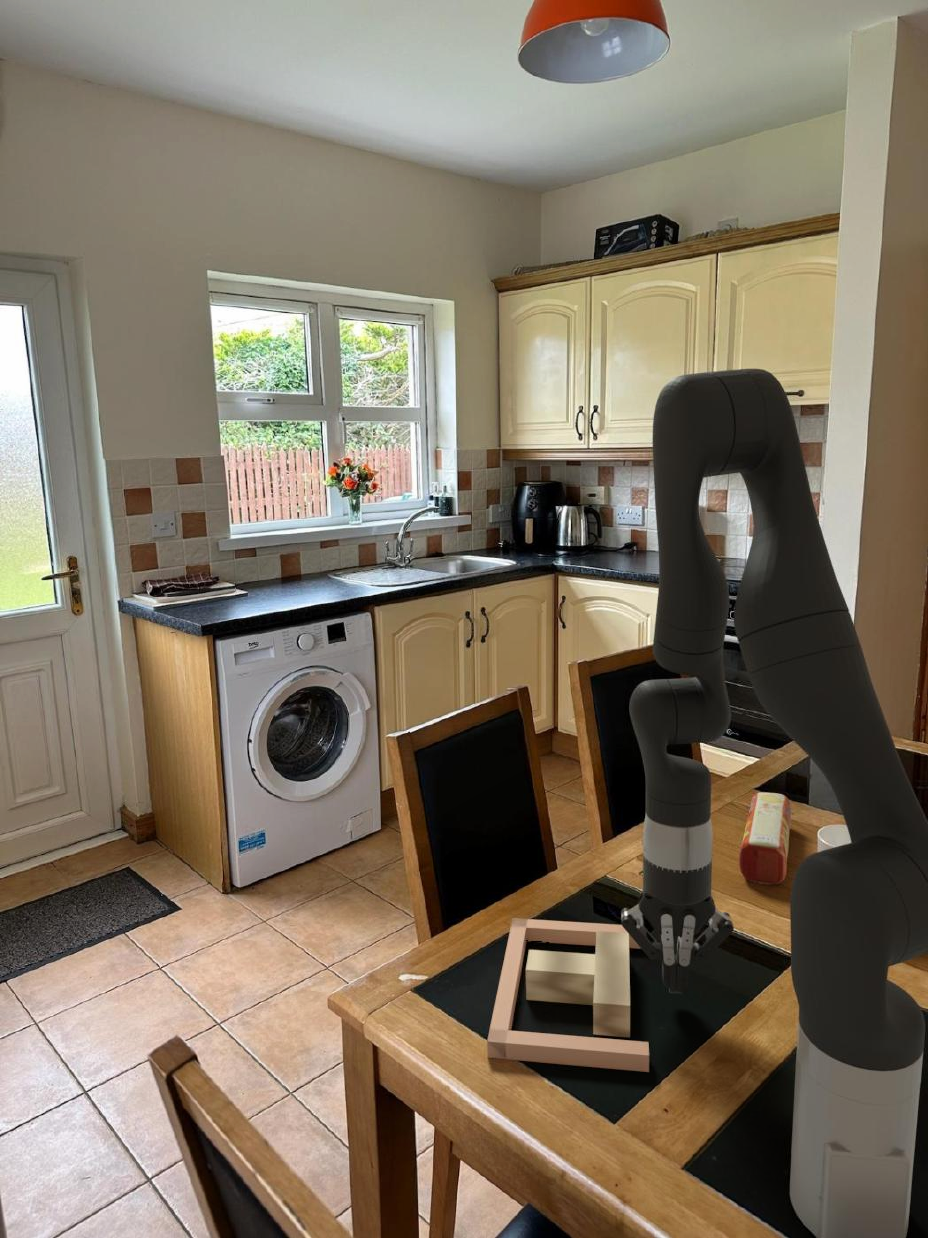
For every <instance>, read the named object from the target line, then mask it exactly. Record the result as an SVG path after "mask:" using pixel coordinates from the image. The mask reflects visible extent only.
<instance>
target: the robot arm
mask: <svg viewBox="0 0 928 1238" xmlns="http://www.w3.org/2000/svg"><path fill="white" fill-rule="evenodd" d="M652 465H653V482H654V484H653V486H654V505H655V518H656V535H657V546H658V547H657V548H658V589H657V590H658V592H657V593H658V594H657V601H656V602H657V603H656V612H655V622H654V632H653V642H652V644H653V645H652V648H653V649H652V653H653V657H654V659H655V661H656V663H658V666H661V668H663V669H665V670H666V671H668V672H671V673H674V674H678V675H683V676H689V677H685V678H684V677H682V678H669V679H668V678H664V679H663V678H662V679H649V680H644V681H642V682H641V683H639V684H638V685H636V688H634V690H633V692H632V693H631V696H630V699H629V706H628V709H629V717H630V720H631V724H632V728H633V731H634V734H635V737H636V739H637V740H636V741H637V743H638V746H639V750H640V753H641V754H640V755H641V759H642V764H643V769H644V776H645V818H644V823H643V832H642V836H643V837H642V839H641V841H642V843H641V845H642V871H643V873H642V891H641V894H640V895H639V897H638V899H637V902H638V903H637V904H636V905H634V906H633V907H632V908H628V907H624V908H622V909H621V911H620V916H621V917H620V918H621V919H620V920H621V925H622V926H623V928H624V929H625V930H626V931H627V932H628V933H629V935H630V936H631V937H632V938H633V939H634V941H635V942H636V943H637V944H638V945H639V946H640V948H641V950H642V952H643V953H644V954H645V955H646V957H648V958H649V959H650V960H653V961H654V960H658V961H660V962H662V963H661V965H662V966H661V968H662V969H661V977H662V985H663V987H664V988H666V989H667V988H668V992H669V993H670V994H683V989H685V990H686V989H688V986H689V971H690V969H689V966H690V964H691V963H693V962H695V961H696V962H697V963H704V962H705V961H706V960H707V959H708V958H709V957H710V956H711V954H713V953H714V951H716V950H717V949H718V948H719V946H721V944H723V943H724V941H725V940H727V938H728V937H729V936H730V935H731V934H732V933H733V932H734V929H735V928H734V923H733V920H732V917H731V915H730V914H729V913H728V912H722V911H720V910H719V909H718V908H716V904H715V900H714V898H713V896H712V883H713V882H712V881H713V880H712V878H713V877H712V873H713V827H712V821H711V820H712V816H711V814H712V813H711V811H712V802H711V801H712V775H711V772H710V769H709V768H708V766H707V765H706V764H704V763H703V762H701V761H699V760H697V759H694V758H693V759H692V758H690V757H689V758H688V757H685V756H677V755H674V754H669V753H668V752H667V746H669V745H684V744H700V743H701V744H703V743H704V744H705V743H712V742H716V741H718V740H719V739H720V738H722V737H723V735H725V733H726V732H727V730H728V729H729V727H730V724H731V720H732V719H731V718H732V710H731V704H730V699H729V698H730V697H729V694H728V689H727V684H726V679H725V671H724V670H725V669H724V644H725V638H726V631H727V625H728V617H729V609H730V591H729V585H728V580H727V577H726V574H725V572H724V570H723V567H722V565H721V562H720V561H719V559H718V557H717V555H716V554H715V552H714V550H713V548H712V546H711V544H710V542H709V540H708V538H707V536H706V533H705V531H704V528H703V525H702V522H701V517H700V509H699V508H700V497H701V488H702V485H703V484H702V483H703V480H704V478H708V477H709V478H710V477H717V476H724V475H725V476H726V475H733V474H740V475H741V477H742V479H743V482H744V483H745V487H746V490H747V491H746V492H747V493H748V498H749V502H750V506H751V507H750V508H751V514H752V522H753V530H752V532H753V533H752V539H751V544H750V549H749V552H748V557H747V559H746V563H745V566H744V569H743V572H742V575H741V579H740V583H739V587H738V591H737V593H736V599H735V603H734V613H733V626H734V632H735V635H736V639H737V642H738V646H739V649H740V653H741V655H742V659H743V662H744V665H745V668H746V673H747V675H748V678H749V682H750V684H751V687H752V690H753V692H754V694H755V696H756V698H757V700H758V701H759V703H760V705H762V707H763V709H764V710H765V711H766V712H767V714H768V715H769V716H770V717H771V719H772V720H773V721H775V723H776V724H777V725H778V726H779V727H780V729H782V730H783V731H784V733H786V734H787V736H788V737H789V738H790V739H791V740H792V741H793V742H794V743H795V744H796V745H797V746H798V747H799V748H800V749H801V750H802V751H803V752H805V754H806V755H807V756H808V757H809V758H810V760H812V762H813V763H814V764H815V765H816V766H817V768H818V769H819V770H820V771H821V773H822V774H823V775H824V777H825V779H826V780H827V782H828V783H829V785H830V787H831V789H832V792H833V793H834V795H835V798H836V800H837V803H838V805H839V807H840V811H841V813H842V816H843V819H844V821H845V825H847V828H848V832H849V835H850V839H851V843H849V844H845V845H842V846H838V847H834V848H831V849H827V850H823V851H820V852H818V851H817V852H815V853H812V854H810V855H807V857H805V858H804V859H803V860H802V861H801V862H800V863H799V865H798V867H797V869H796V870H795V873H794V876H793V879H792V885H791V890H790V902H789V903H790V904H789V905H790V907H789V909H790V911H789V912H790V914H789V915H790V918H789V919H790V920H789V921H790V922H789V923H790V973H791V981H792V985H793V989H794V990H793V991H794V992H795V997H796V1000H797V1003H798V1021H797V1041H796V1054H795V1055H796V1057H795V1058H796V1059H795V1073H794V1074H795V1077H794V1095H793V1097H794V1098H793V1112H792V1113H793V1114H792V1115H793V1116H792V1130H791V1131H792V1135H791V1149H790V1150H791V1152H790V1153H791V1154H790V1155H791V1157H790V1158H791V1159H790V1179H789V1180H790V1181H789V1196H790V1197H789V1198H790V1202H791V1205H792V1207H793V1209H794V1212H795V1214H796V1216H797V1217H798V1219H799V1220H800V1221H801V1223H802V1224H803V1225H804V1226H805V1228H807V1229H808V1230H809V1231H810V1233H812V1235H814V1236H815V1238H906V1237H907V1234H908V1228H909V1220H910V1219H909V1218H910V1217H909V1216H910V1207H911V1197H912V1195H911V1194H912V1182H913V1170H914V1160H915V1159H914V1158H915V1148H916V1138H917V1137H916V1136H917V1126H918V1125H917V1124H918V1115H919V1114H918V1113H919V1112H918V1111H919V1102H920V1101H919V1100H920V1091H921V1090H920V1089H921V1082H922V1071H923V1069H922V1068H923V1061H924V1060H923V1057H924V1048H925V1038H926V1037H925V1036H926V1020H925V1016H924V1013H923V1010H922V1009H921V1007H920V1005H919V1004H918V1002H917V1000H916V999H914V998H915V997H913V996H912V995H911V994H910V993H909V992H907V991H906V990H905V989H904V988H902V987H901V986H899V985H897V984H896V983H894V982H892V981H891V980H889V979H888V974H889V968H890V967H892V966H895V965H898V964H900V963H903V962H906V961H909V960H913V959H915V958H917V957H921V956H923V955H927V954H928V819H927V817H926V815H925V813H924V811H923V808H922V806H921V804H920V802H919V799H918V798H917V795H916V793H915V791H914V789H913V786H912V784H911V781H910V780H909V778H908V775H907V773H906V770H905V768H904V765H903V764H902V761H901V760H902V759H901V758H900V756H899V753H898V750H897V747H896V746H895V743H894V740H893V737H892V733H891V731H890V728H889V726H888V723H887V720H886V718H885V715H884V713H883V709H882V707H881V704H880V701H879V699H878V696H877V693H876V690H875V688H874V685H873V681H872V678H871V675H870V673H869V672H870V671H869V668H868V666H867V662H866V658H865V655H864V651H863V647H862V645H861V642H860V638H859V636H858V633H857V630H856V627H855V624H854V621H853V619H852V615H851V612H850V610H849V607H848V604H847V602H846V600H845V599H846V598H845V597H844V594H843V591H842V588H841V587H840V583H839V581H838V579H837V575H836V572H835V569H834V566H833V563H832V560H831V559H832V558H831V556H830V553H829V549H828V547H827V544H826V540H825V537H824V535H823V531H822V530H823V529H822V527H821V524H820V521H819V517H818V514H817V511H816V507H815V504H814V500H813V495H812V491H811V487H810V481H809V476H808V473H807V468H806V463H805V459H804V455H803V450H802V446H801V442H800V437H799V432H798V429H797V424H796V420H795V415H794V412H793V409H792V406H791V403H790V400H789V398H788V395H787V393H786V391H785V390H784V387H783V385H782V384H781V382H780V381H779V380H778V379H777V377H776V376H775V375H773V373H771V372H770V371H768V370H765V369H762V368H740V369H726V370H725V369H724V370H717V371H707V372H699V373H698V372H696V373H689V374H688V373H687V374H682V375H678V376H675V377H673V378H672V379H670V380H668V381H667V382H666V384H665V385H664V386H663V387H662V389H661V390H660V393H659V395H658V397H657V400H656V402H655V408H654V412H653V420H652ZM643 917H644V918H645V919H646V921H647V922H648V924H650V926H651V927H652V929H654V931H655V932H656V933H657V934H659V935H660V937H661V938H660V939H661V942H657V939H656V938H655V937H654V936H653V935H652V933H650V932H649V929H647V928H646V926H645V925H644V919H643ZM708 922H709V926H708V927H706V929H705V930H704V931H703V932H702V933H701V934H700V935H699V936H698V937H697V938H696V939H695V940H694V936H695V935H697V934H698V933H699V932H700V931H701V930H702V929H703V928H704V927H705V926H706V924H707V923H708ZM674 937H677V944H676V954H675V944H674Z"/></svg>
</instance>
